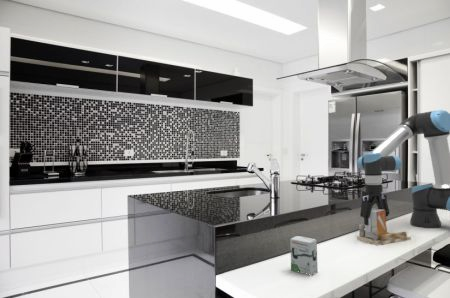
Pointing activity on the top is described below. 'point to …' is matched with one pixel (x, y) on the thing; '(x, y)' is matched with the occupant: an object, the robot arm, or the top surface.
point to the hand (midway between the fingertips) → (375, 230)
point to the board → (381, 236)
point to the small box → (377, 222)
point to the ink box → (304, 254)
